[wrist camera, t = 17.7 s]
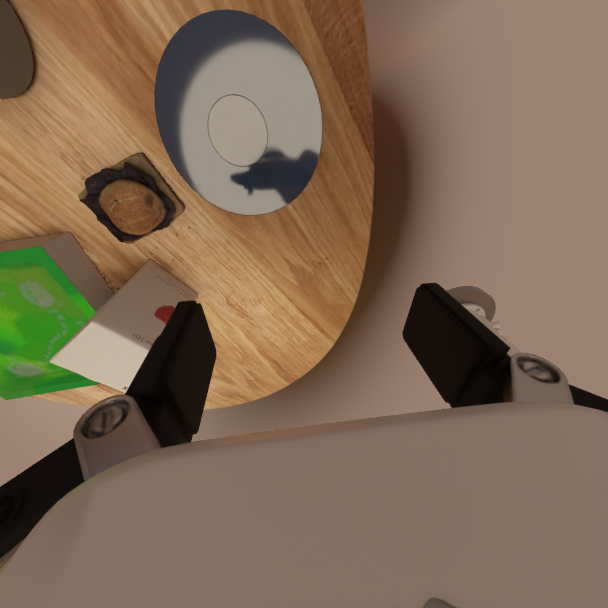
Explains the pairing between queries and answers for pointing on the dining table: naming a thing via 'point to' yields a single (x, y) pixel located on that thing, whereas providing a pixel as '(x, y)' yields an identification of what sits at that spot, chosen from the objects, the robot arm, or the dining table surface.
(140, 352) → the white product box
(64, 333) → the flat green box
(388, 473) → the robot arm
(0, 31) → the water bottle
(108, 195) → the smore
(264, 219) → the dining table surface
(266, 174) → the lid
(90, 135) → the dining table surface
